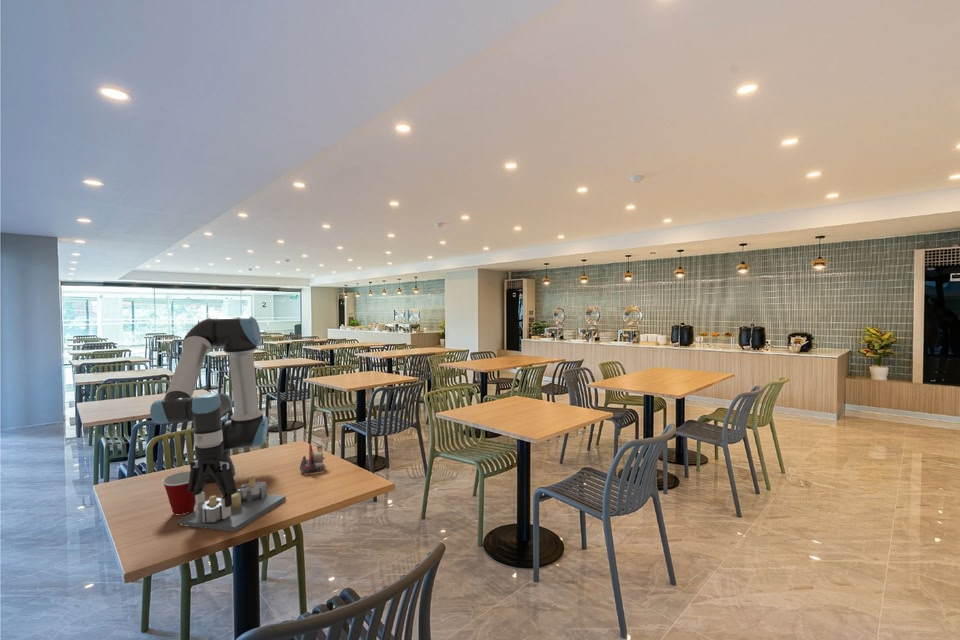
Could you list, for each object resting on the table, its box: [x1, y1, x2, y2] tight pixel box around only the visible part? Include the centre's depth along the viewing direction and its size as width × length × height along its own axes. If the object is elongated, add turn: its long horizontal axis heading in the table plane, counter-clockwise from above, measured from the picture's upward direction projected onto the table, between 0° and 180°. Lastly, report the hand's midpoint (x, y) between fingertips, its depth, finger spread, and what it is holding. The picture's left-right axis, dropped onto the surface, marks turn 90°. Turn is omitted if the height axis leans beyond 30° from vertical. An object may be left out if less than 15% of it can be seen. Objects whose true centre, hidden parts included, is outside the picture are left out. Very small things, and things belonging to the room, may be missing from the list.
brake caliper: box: [299, 442, 325, 476], centre depth 185 cm, size 11×11×12 cm
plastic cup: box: [161, 470, 196, 515], centre depth 150 cm, size 11×11×12 cm
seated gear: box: [237, 480, 268, 503], centre depth 156 cm, size 9×8×4 cm
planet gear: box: [195, 497, 222, 523], centre depth 140 cm, size 9×9×4 cm
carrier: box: [177, 475, 287, 533], centre depth 148 cm, size 22×22×8 cm
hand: (213, 515), depth 140 cm, fingers closed on planet gear, 9 cm apart
